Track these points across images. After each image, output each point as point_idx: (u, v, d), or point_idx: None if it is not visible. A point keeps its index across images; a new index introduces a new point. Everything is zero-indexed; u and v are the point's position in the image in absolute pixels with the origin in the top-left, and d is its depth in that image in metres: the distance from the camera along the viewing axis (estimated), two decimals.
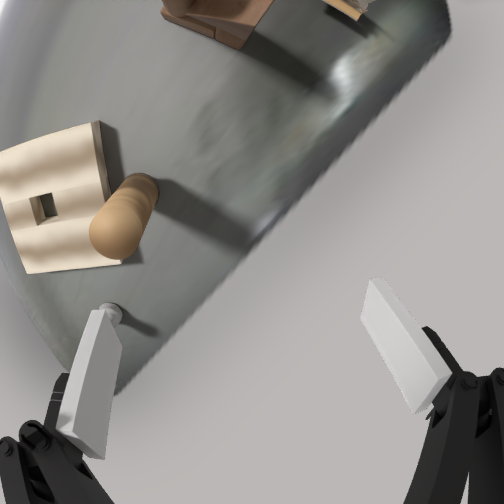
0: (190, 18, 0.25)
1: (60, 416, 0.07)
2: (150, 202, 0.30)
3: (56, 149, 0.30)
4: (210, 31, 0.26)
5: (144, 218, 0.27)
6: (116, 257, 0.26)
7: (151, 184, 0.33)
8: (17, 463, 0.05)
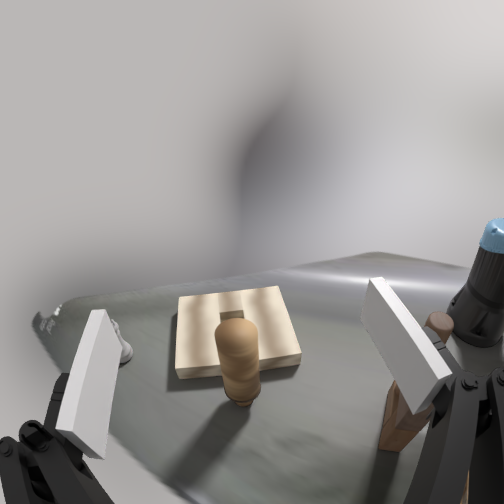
0: (396, 399, 0.34)
1: (60, 416, 0.07)
2: (244, 381, 0.35)
3: (280, 330, 0.49)
4: (390, 415, 0.33)
5: (241, 364, 0.33)
6: (216, 333, 0.33)
7: (253, 392, 0.37)
8: (17, 463, 0.05)
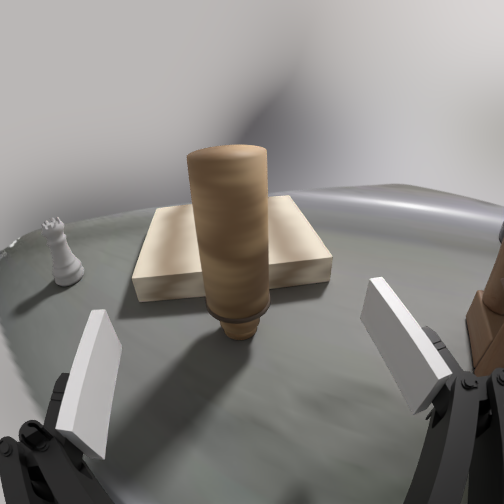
0: (489, 314, 0.19)
1: (60, 416, 0.07)
2: (241, 262, 0.19)
3: (297, 233, 0.34)
4: (490, 337, 0.17)
5: (234, 208, 0.17)
6: (191, 154, 0.18)
7: (257, 300, 0.21)
8: (17, 463, 0.05)
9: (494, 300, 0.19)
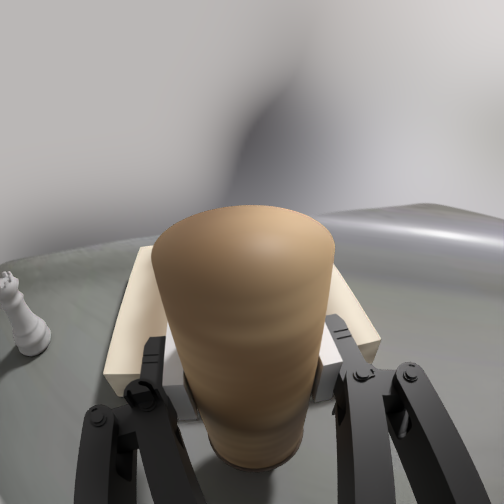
0: None
1: (165, 373, 0.10)
2: (270, 431, 0.09)
3: (329, 297, 0.24)
4: None
5: (263, 378, 0.07)
6: (162, 243, 0.08)
7: (288, 449, 0.12)
8: (107, 436, 0.07)
9: None
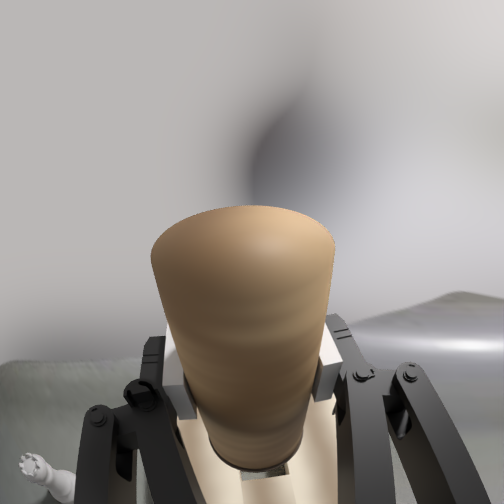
0: None
1: (165, 373, 0.10)
2: (270, 432, 0.09)
3: None
4: None
5: (263, 379, 0.07)
6: (162, 244, 0.08)
7: (288, 450, 0.12)
8: (107, 436, 0.07)
9: None
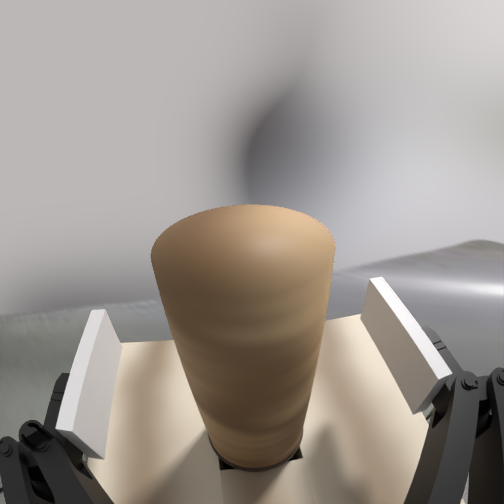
0: None
1: (60, 416, 0.07)
2: (270, 431, 0.09)
3: (408, 459, 0.11)
4: None
5: (263, 377, 0.07)
6: (162, 242, 0.08)
7: (288, 449, 0.12)
8: (17, 463, 0.05)
9: None
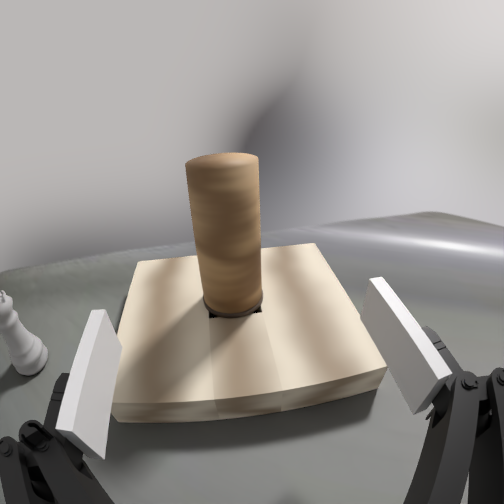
0: None
1: (60, 416, 0.07)
2: (235, 261, 0.21)
3: (335, 319, 0.23)
4: None
5: (228, 212, 0.19)
6: (189, 162, 0.20)
7: (250, 296, 0.23)
8: (17, 463, 0.05)
9: None
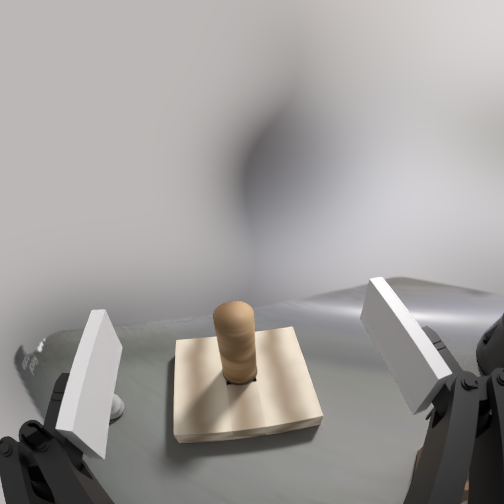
0: None
1: (60, 416, 0.07)
2: (241, 362, 0.37)
3: (297, 386, 0.39)
4: None
5: (238, 344, 0.35)
6: (215, 314, 0.36)
7: (250, 374, 0.40)
8: (17, 463, 0.05)
9: None
